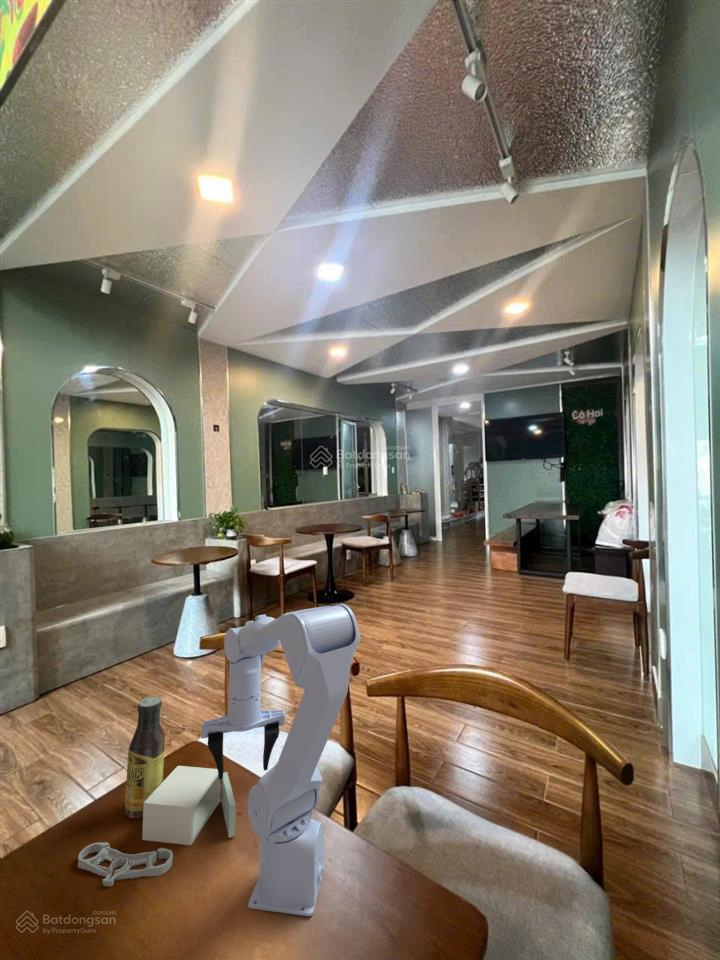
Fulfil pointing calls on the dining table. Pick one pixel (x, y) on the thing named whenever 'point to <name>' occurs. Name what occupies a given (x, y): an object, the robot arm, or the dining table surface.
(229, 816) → the cabinet door
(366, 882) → the dining table surface
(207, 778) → the cabinet
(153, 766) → the sauce bottle
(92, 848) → the bracket
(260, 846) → the robot arm
